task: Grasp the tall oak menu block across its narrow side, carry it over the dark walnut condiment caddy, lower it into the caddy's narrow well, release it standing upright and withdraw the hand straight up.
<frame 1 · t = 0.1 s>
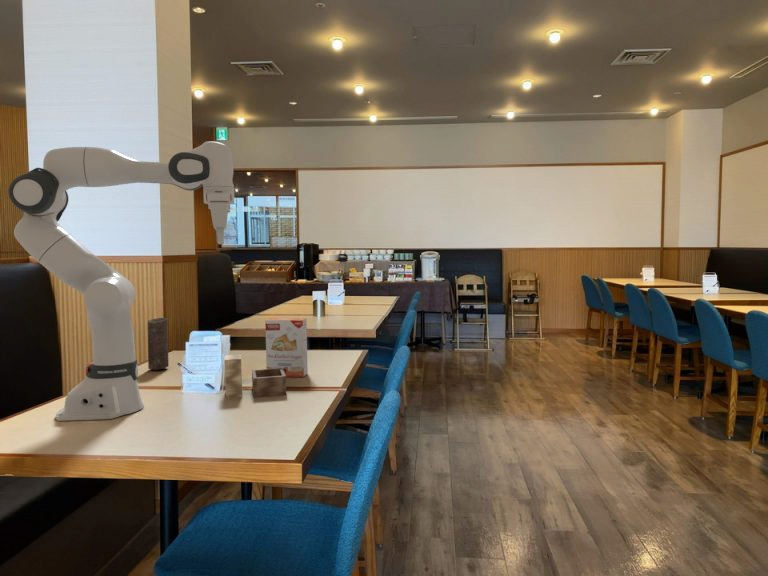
hand: (220, 244, 168), 48 cm above the table, fingers open, 8 cm apart
cracker box: (287, 376, 205), on the table
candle: (158, 370, 218), on the table
oak block: (234, 394, 179), on the table
caddy: (268, 391, 182), on the table
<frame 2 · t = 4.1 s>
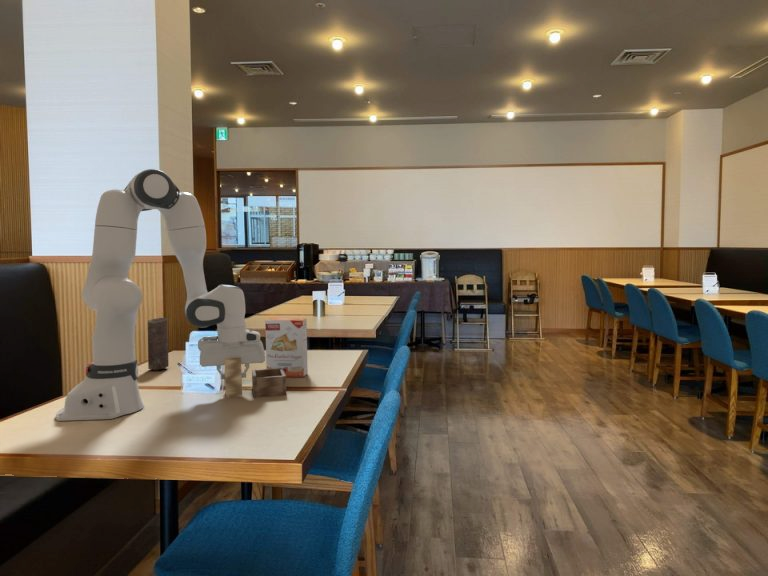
hand: (233, 378, 179), 5 cm above the table, fingers closed on oak block, 5 cm apart
oak block: (234, 394, 179), on the table, touching gripper
everything else where it was.
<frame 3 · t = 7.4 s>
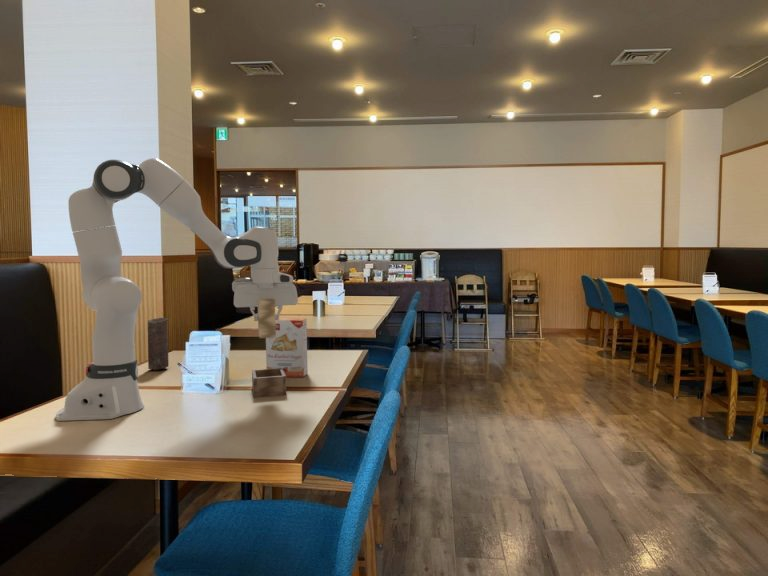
hand: (266, 320, 181), 23 cm above the table, fingers closed on oak block, 5 cm apart
oak block: (267, 335, 181), point 18 cm above the table, touching gripper
everything else where it was.
when the fingers open (8 cm above the table, at t = 10.8 s): oak block drops 2 cm, resting on caddy.
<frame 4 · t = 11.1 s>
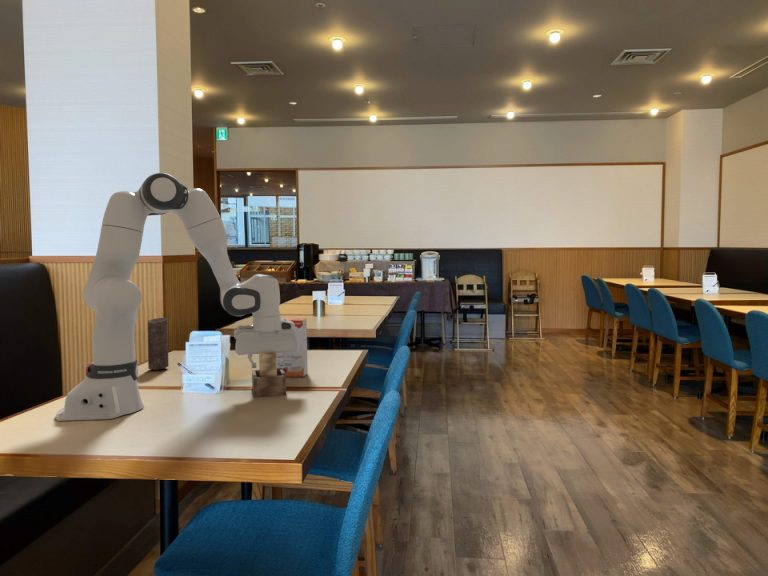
hand: (268, 366, 182), 8 cm above the table, fingers open, 8 cm apart
oak block: (268, 388, 182), point 1 cm above the table, touching caddy
everything else where it was.
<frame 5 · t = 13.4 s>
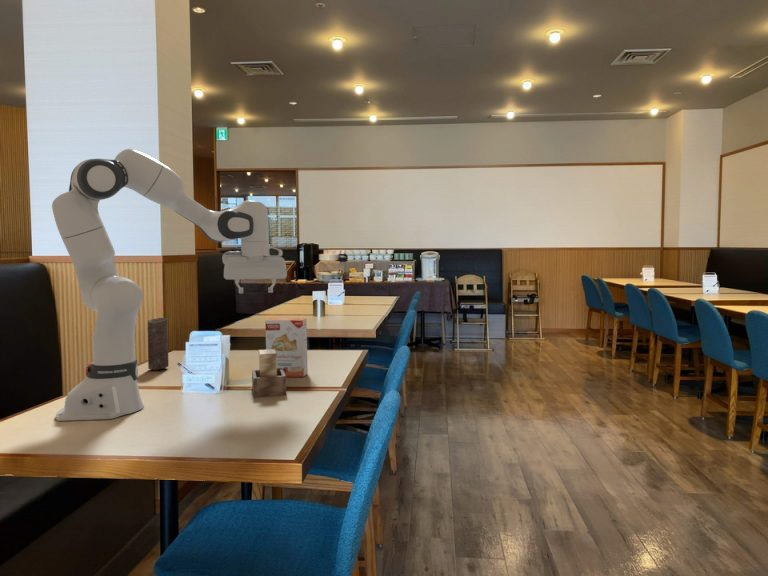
hand: (255, 293, 184), 32 cm above the table, fingers open, 8 cm apart
nothing on the table moved.
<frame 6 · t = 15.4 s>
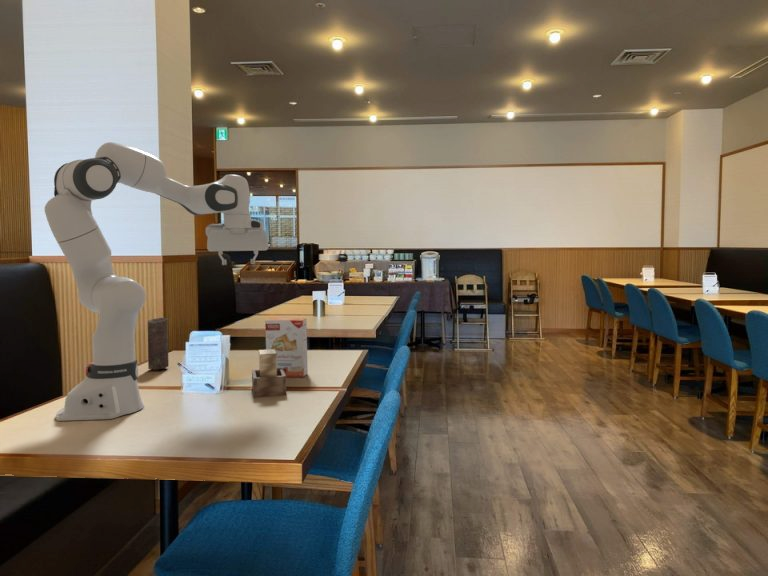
hand: (238, 264, 191), 41 cm above the table, fingers open, 8 cm apart
nothing on the table moved.
at the end: oak block 0.1 cm off-centre on the caddy, point 1.0 cm above the caddy's base; oak block tilted 0°; the gripper is holding nothing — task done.
